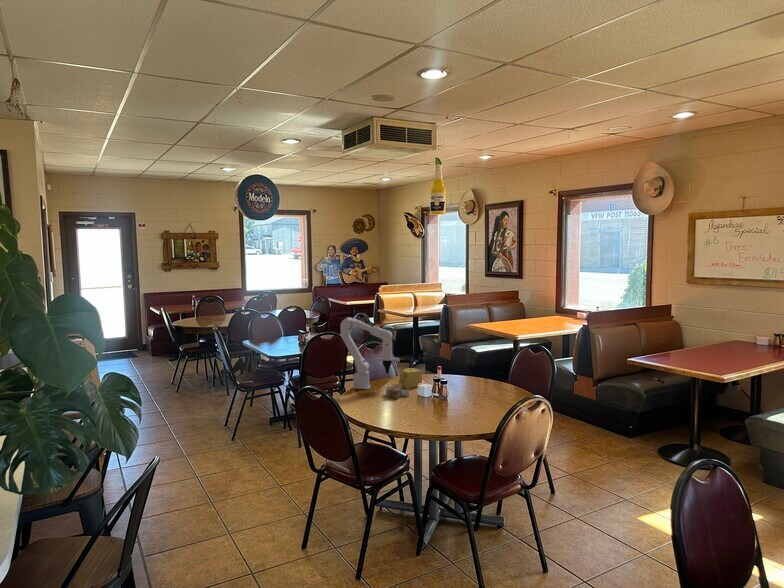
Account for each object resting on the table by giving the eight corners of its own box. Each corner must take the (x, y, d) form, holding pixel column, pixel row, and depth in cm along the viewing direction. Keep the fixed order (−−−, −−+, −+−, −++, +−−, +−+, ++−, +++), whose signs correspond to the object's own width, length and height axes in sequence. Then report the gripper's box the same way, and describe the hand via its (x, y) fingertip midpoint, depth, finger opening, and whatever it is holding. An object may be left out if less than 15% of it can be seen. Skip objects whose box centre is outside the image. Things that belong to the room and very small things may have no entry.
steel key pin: (386, 396, 311) (385, 389, 311) (387, 393, 317) (387, 386, 317) (408, 397, 309) (408, 390, 309) (409, 394, 315) (409, 387, 315)
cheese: (398, 384, 337) (398, 369, 336) (413, 382, 342) (413, 367, 341) (407, 388, 328) (407, 372, 327) (422, 386, 333) (422, 370, 332)
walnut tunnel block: (388, 398, 307) (388, 390, 306) (392, 392, 321) (392, 384, 320) (398, 399, 306) (398, 390, 305) (402, 392, 320) (402, 384, 319)
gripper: (374, 351, 324) (374, 374, 325) (398, 352, 322) (398, 374, 323) (376, 349, 331) (376, 371, 332) (399, 350, 329) (400, 372, 330)
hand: (387, 373), depth 328 cm, fingers closed
